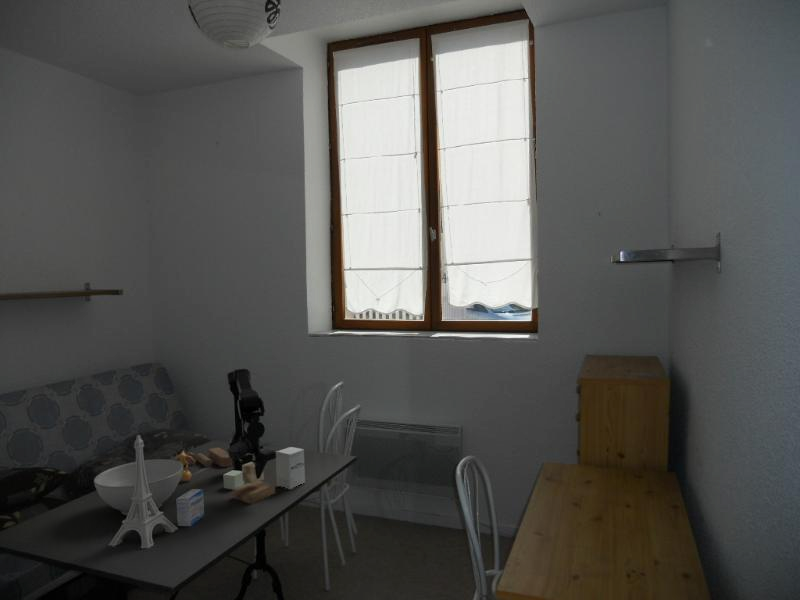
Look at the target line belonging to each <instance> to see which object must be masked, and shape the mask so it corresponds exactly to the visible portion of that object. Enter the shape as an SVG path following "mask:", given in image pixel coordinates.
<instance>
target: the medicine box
mask: <svg viewBox="0 0 800 600" xmlns="http://www.w3.org/2000/svg"><path fill="white" fill-rule="evenodd" d="M175 499H176V500H175V501H176V516H177V518H176V519H177V526H179V527H192V526H194V525H195V524H196V523H197V522H198V521H200V520H201V519H203V518H204V517H205V505H204V504H205V503H204V502H205V501H204V490H203V489H199V488H195V489H193V488H192V489H190V490H188V491H186V492H185V493H183V494H181V495H180V496H179V497H177V498H175Z"/></svg>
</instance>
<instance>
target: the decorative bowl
mask: <svg viewBox="0 0 800 600" xmlns="http://www.w3.org/2000/svg"><path fill="white" fill-rule="evenodd" d="M144 465H145V472H146V477H147V482H148V487H149V491H150V493H152V496H151V497H152V499H153V501H154V503H155V505H156V507H157V508H158V510H159V509H160V508H161V507H162V505H163V503H164V502H165V501H167V500H168V499H169V498H170V496H171V495H173V493H174V492H175V490H176V489H177V487H178V485H179V484H180V482H181V476H182V472H183V470H184V466H183V464H182V463H180V462H178V460H174V459H164V458H163V459H160V458H159V459H146V460H145V459H144ZM135 474H136V461H135V462H134V461H133V462H129V463H124V464H121V465H118V466H114V467H112V468H109V469H106V470H104V471H102V472H100V473H99V474H98V475H96V476H95V477H94V479H93V484H94V487H95V489H96V491H97V493H98V495H99V496H100V498H101V499H102V500H103V501H104V502H105V503H106V504H107V505H108V506H110V507H111V508H113V509H115V510H118V511H120V513H121V514H122V515H125V516H127V515H128V513H129V510H130V507H131V505H132V501H133V500H131V498H132V497H133V496H134V488H135ZM147 509H148V511H150V510H149V508H148V506H147ZM136 513H137V512H136Z"/></svg>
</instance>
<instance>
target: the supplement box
mask: <svg viewBox="0 0 800 600" xmlns="http://www.w3.org/2000/svg"><path fill="white" fill-rule="evenodd" d="M275 452H276V458H275V468H276V471H275V473H276V486H277V487H279V486H281V487H280V488H282V487H285V488H284V489H286V488H288V489H287V490H290V489H291V490H292V489H294V487H295V488H297V487H299V486H298V485H300V484H302V485H304V484H303V483H305V484H306V475H305V473H306V471H305V450H304V448H299V447H293V446H289V447H286V448H284V449H283V448H282V449H280V450H277V451H275ZM296 486H297V487H296ZM300 486H301V485H300Z"/></svg>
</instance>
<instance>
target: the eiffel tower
mask: <svg viewBox="0 0 800 600" xmlns="http://www.w3.org/2000/svg"><path fill="white" fill-rule="evenodd" d="M144 447H145V444H144V440H143V439H142V437H141V435H139V434H138V435H136V439H135V441H134V446H133V448H134V450H135V462H136V474H135V488H134V496H133V497H132V498H131V500H133V501H132V505H131V507H130V510H129V513H128V515H126V517H125V519H123V520H122V521H121V523H122V524H121V526H120V528H119V529H118V531H117V532H116V533H115V535H114V537H113V538H112V540H111V541H110V542H109V544H108V545H113V546H112V547H115V545H118V544H119V545H121V544H122V543H123V542H124V541H123V538H124V536H125V535H126V533H127V532H129V531H133V530H134V531H136V532H137V533H138V534H139V535H140V538H141V547H140V548H149V547H151V546H153V544H155V543H154V540H153V529H154V527H155V526H156V525H161V526H162V527H163V528H164V532H165V533H174V532H176V531H178V530H179V527H177V525H174V524H173V523H172V521H170V520H169V519H168V518H167V517H166V516H165V515H164V511H160V510H159V509H158V508H157V507H156V505H155V503H154V501H153V499H152V497H151V496H152V493H150V491H149V487H148V482H147V477H146V472H145V465H144V461H145V457H144ZM147 506H148V508H149V510H150V511H148V509H147ZM136 512H137V513H136ZM175 530H176V531H175ZM121 542H122V543H121ZM120 543H121V544H120ZM119 545H118V546H119ZM153 547H154V546H153ZM151 548H152V547H151Z"/></svg>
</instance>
